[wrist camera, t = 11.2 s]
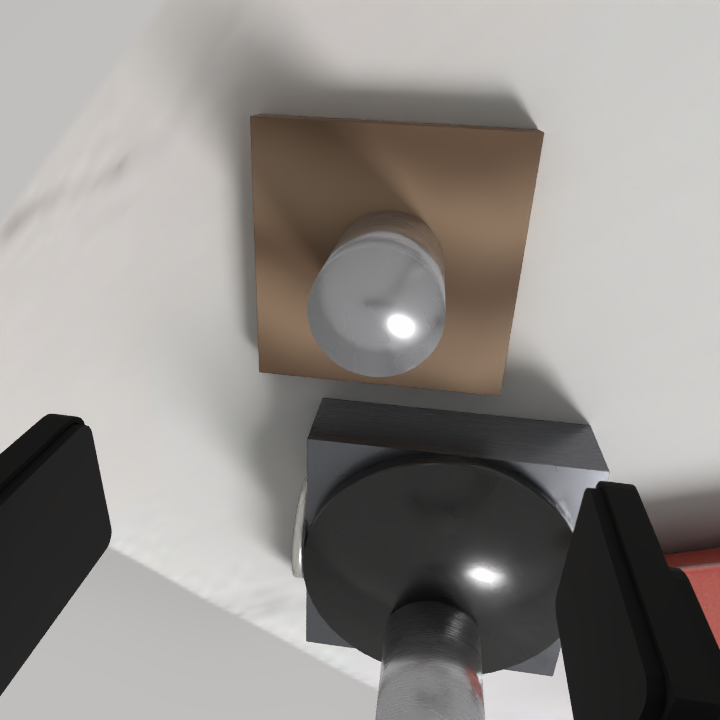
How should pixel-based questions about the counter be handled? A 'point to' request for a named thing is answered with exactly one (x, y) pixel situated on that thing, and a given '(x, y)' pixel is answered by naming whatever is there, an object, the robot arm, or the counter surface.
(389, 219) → the cylinder
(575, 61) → the counter surface
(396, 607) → the scale
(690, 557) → the plant saucer
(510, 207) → the walnut board
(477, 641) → the cylinder
